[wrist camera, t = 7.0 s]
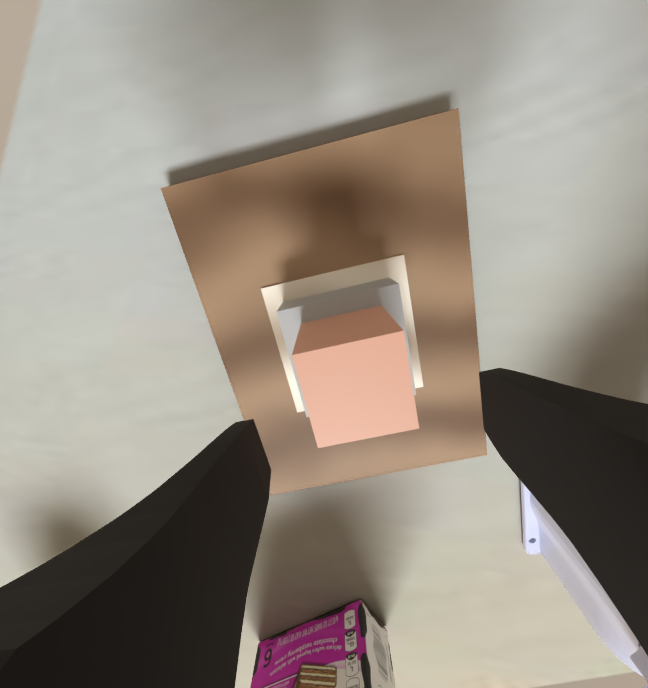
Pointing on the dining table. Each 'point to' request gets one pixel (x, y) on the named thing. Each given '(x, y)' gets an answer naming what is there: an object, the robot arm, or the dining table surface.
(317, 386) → the terracotta block
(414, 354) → the tan flat board
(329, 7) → the dining table surface
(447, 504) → the dining table surface
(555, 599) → the dining table surface
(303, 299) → the slate brick
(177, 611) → the robot arm
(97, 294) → the dining table surface
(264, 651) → the candy bar box
